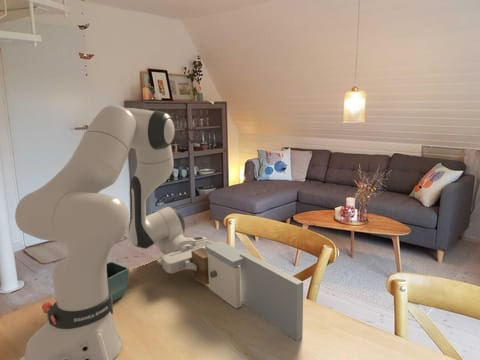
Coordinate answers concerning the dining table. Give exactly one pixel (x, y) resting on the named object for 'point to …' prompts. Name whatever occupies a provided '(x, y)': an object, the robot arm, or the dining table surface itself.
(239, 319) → the dining table surface
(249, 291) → the wall
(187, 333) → the dining table surface
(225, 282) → the door panel
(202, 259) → the walnut block
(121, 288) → the flower pot
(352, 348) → the dining table surface
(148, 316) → the dining table surface
